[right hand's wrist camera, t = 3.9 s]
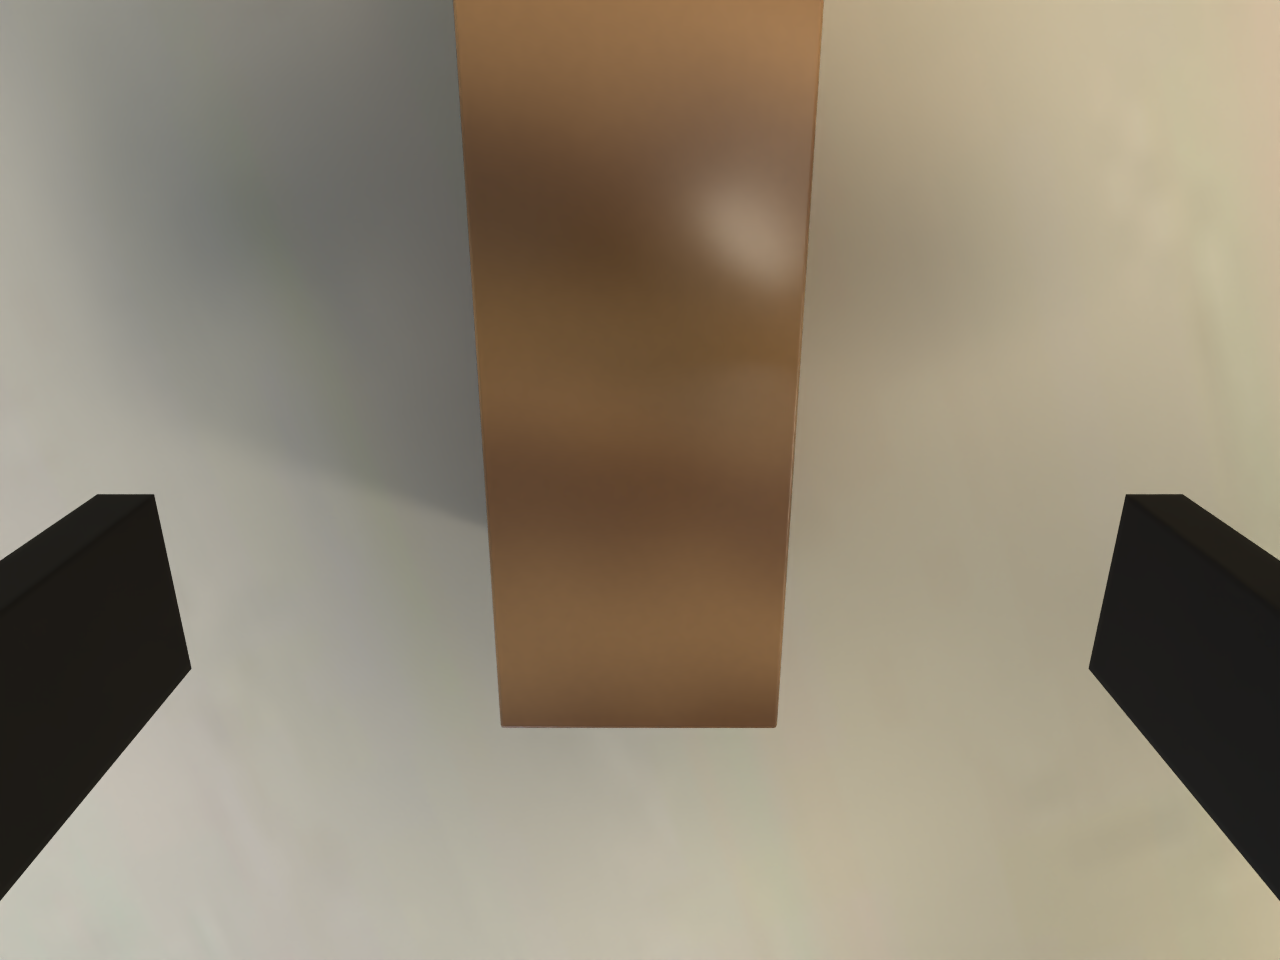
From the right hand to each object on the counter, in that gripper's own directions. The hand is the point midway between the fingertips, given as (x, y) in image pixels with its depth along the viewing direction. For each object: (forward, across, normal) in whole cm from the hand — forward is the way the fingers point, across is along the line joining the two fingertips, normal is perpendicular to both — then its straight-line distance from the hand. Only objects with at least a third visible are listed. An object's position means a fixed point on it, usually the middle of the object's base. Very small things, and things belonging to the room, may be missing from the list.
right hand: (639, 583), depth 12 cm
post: (+13, 0, -27) cm, 30 cm away
